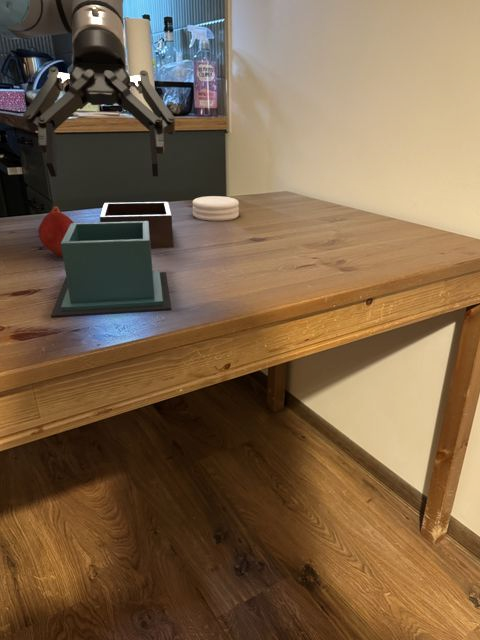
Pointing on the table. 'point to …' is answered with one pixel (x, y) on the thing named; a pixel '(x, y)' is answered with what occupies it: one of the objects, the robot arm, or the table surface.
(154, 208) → the box
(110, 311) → the mat
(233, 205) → the white short cylinder
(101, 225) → the box
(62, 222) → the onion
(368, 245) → the table surface
